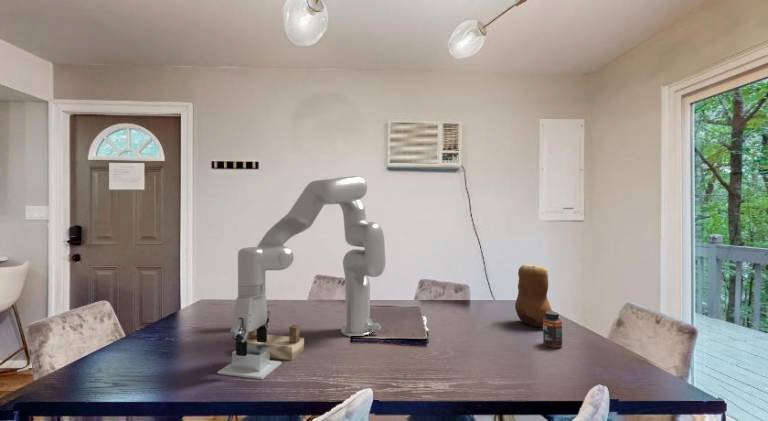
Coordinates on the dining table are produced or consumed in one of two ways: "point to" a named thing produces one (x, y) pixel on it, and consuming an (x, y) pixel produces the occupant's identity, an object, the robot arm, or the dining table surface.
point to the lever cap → (252, 358)
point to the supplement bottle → (552, 330)
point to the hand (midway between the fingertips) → (252, 348)
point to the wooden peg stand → (281, 343)
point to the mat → (247, 373)
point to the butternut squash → (532, 294)
